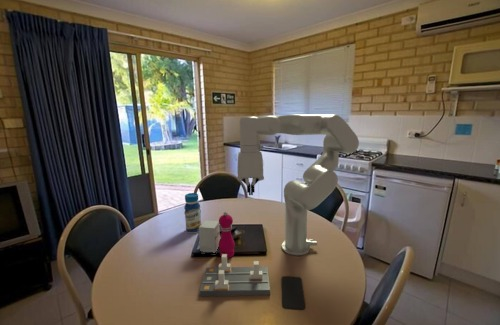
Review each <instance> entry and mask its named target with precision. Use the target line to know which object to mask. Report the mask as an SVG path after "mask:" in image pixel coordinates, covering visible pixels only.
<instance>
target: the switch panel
mask: <svg viewBox="0 0 500 325" xmlns="http://www.w3.org/2000/svg"><path fill="white" fill-rule="evenodd" d="M268 269H269V268H268V266H259V271H262V274H263V279H250V271H254V266H235V267H234V266H233V267H232V266H231V269H230V271H224V277H225V280H228V283H229V285H228V289H215V282H216V280H219V279H218V273H219V267H206V268H205V271H204V274H203V278H202V282H201V286H200V289H199V296H200V297H214V296H215V297H221V296H222V297H225V296H226V297H228V296H230V297H231V296H233V297H234V296H270V295H271V287H270V286H271V285H270V276H269V270H268Z"/></svg>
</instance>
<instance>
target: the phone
mask: <svg viewBox="0 0 500 325" xmlns="http://www.w3.org/2000/svg"><path fill="white" fill-rule="evenodd" d="M281 306H282V308H283V309H287V310H299V311H301V310H303V311H304V310H305V309H306V302H305V295H304V287H303V280H302V278H301V277H300V276H291V275H290V276H289V275H288V276H287V275H283V276H282V277H281Z"/></svg>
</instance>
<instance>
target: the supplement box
mask: <svg viewBox="0 0 500 325" xmlns="http://www.w3.org/2000/svg"><path fill="white" fill-rule="evenodd" d="M220 232H221V230H220V224H219V220H204V221H203V222H201V226H200V227H199V232H198V236H199V237H198V238H199V252H200V251H203V252H213V253H215V252H216V251H217V252H218V250H219V249H218V247H219V241H220V238H221V235H220V234H221V233H220ZM217 249H218V250H217ZM217 252H216V253H217Z"/></svg>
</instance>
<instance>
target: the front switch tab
mask: <svg viewBox="0 0 500 325" xmlns="http://www.w3.org/2000/svg"><path fill="white" fill-rule="evenodd" d="M218 279H219V280H216V282H215V289H228V285H229V283H228V280H225V277H224V270H219V273H218Z"/></svg>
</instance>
